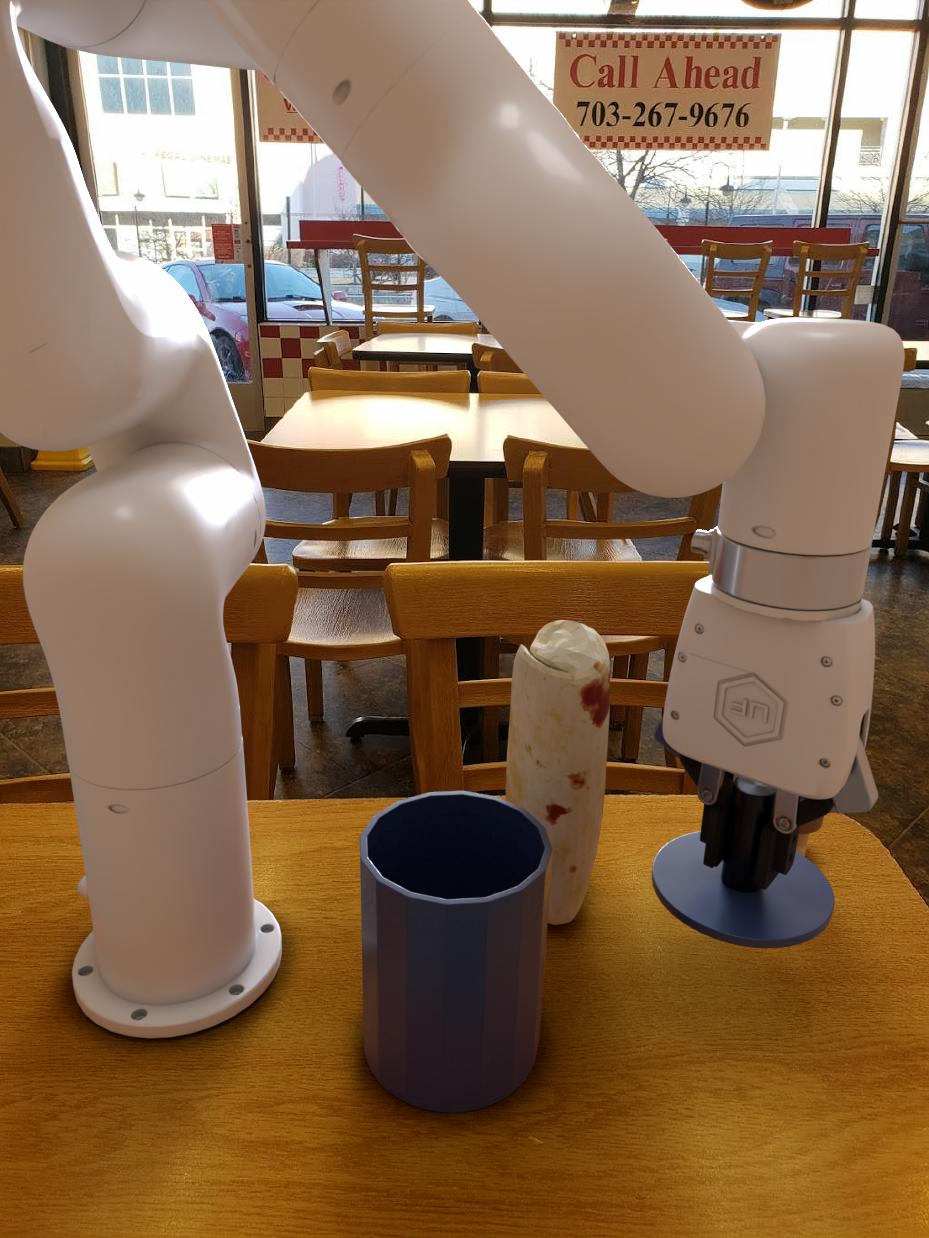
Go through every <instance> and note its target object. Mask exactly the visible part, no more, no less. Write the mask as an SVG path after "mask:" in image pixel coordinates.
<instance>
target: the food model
mask: <svg viewBox="0 0 929 1238" xmlns="http://www.w3.org/2000/svg"><path fill="white" fill-rule="evenodd" d="M510 688H511V690H510V710H509V722H508V723H509V725H508V735H507V736H508V738H507V751H506V764H505V765H506V767H505V801H508V802H510V803H512V804H514V805H517V806H519V807H521V808H524V809H526V810H527V811H528V812H529V813H530V814H531V815H532V816H533V817H534V818H535V819H537V820H538V821H539V822H540V823H541V824H542V825H543V826H544V827H545V829H546V832H547V834H548V837H549V840H550V843H551V846H552V850H553V851H552V865H551V879H550V894H549V908H548V923H547V924H550V925H553V926H558V925H565V924H568V923H571V922H572V921H573V920H574V919H575V918H576V916H577V915H578V913H579V911H580V909H581V907H582V905H583V904H584V903H583V902H584V900H585V898H586V895H587V893H588V890H589V887H590V886H589V885H590V881H591V876H592V873H593V869H594V864H595V862H596V861H595V860H596V857H597V853H598V848H599V842H600V836H601V830H602V822H603V813H604V805H605V793H606V780H607V763H608V762H607V760H608V747H609V746H608V745H609V731H610V730H609V728H610V727H609V726H610V703H611V702H610V701H611V700H610V699H611V697H610V696H611V661H610V654H609V650H608V648H607V644H606V642H605V640H604V639H603V638H602V636H601V635H600V634H599V633H598V632H597V630H595V629H594V628H593V627H589V626H587V625H586V624H584V623H581V622H577V621H574V620H567V619H566V620H565V619H559V620H554V621H551V622H549V623H547V624H545V625H543V627H542V628H540V629H539V630H538V632H537V633H536V636H535V638H534V639H533V641H532V643H531V645H530V647H529V650H528V648H527V647H526V646H525V645H523V644H520V645H519V647H518V649H517V652H516V654H515V658H514V659H513V667H512V675H511V687H510Z"/></svg>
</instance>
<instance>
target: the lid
mask: <svg viewBox="0 0 929 1238" xmlns="http://www.w3.org/2000/svg"><path fill="white" fill-rule="evenodd" d="M775 797H776V788H774V787H771V786H768V785H765V784H762V783H759V782H756V781H753V780H750V779H747V778H744V777H742V776H739V775H738V776H736V779H735V780H734V783H733V790H732V798H731V805H730V812H729V819H728V827H727V834H726V841H725V848H724V856H723V860H722V862H721V863H720V864H719V865H718V866H717V867H713V868H710V867H708V866H706V865H704V864H703V860H704V852H705V845H706V843H703V842H701V841H700V832H701V830H700V831H694V832H690V833H686V834H683V835H681V836H678V837H676V838H674V839H672V840H670V841H668V842H667V843H666V844H665V845H663V846H662V847H661V848H660V850H659V851H658V852H657V853H656V855H655V857H654V859H653V863H652V865H651V866H652V869H651V884H652V888H653V891H654V893H655V895H656V896H657V899H658V901H659V902H660V903H661V904H662V906H663V907H664V908H665V909H666V910H667V911H668V912H669V913H670V914H671V915H672V916H673V917H674V918H676V919H677V920H678V921H680V922H681V923H682V924H684V925H686V926H687V927H688V928H690V929H692V930H694V931H696V932H698V933H700V934H702V935H704V936H706V937H709V938H712V939H714V940H717V941H719V942H723V943H726V944H730V945H731V944H732V945H735V946H738V947H745V948H752V949H783V948H791V947H793V946H798V945H802V944H804V943H806V942H810V941H811V940H813V939H815V938H817V937H818V936H819V935H820V934H821V933H823V932H824V931H825V930H826V929H827V927H828V926H829V924H830V922H831V920H832V918H833V915H834V910H835V904H836V903H835V894H834V891H833V887H832V886H831V883H830V881H829V880H828V879H827V877H826V875H825V874H824V873H823V872H822V870H821V869H820V868H819V867H818V866H817V865H816V864H814V862H812V860H810V859H808V858H807V857H806V856H805V857H804V856H803V855H801V854H800V853H798V852H796V853H795V858H794V862H793V865H792V867H791V869H790V871H789V872H788V873H787V874H786V875H783V874H781V873H779V874H778V875H777V876H776V878H775V879H774V880H773V882H772V883H771V884H770V885H769V887H768V888H767V889H766V890H764V889H761V888H759V887H757V886H756V884H755V883H754V876H755V869H756V863H757V856H758V850H759V843H760V837H761V831H762V829H763V827H764V826H765V824H766V823H767V822H768V821H769V820H770V819H771V814H772V813H773V812H774V806H775Z"/></svg>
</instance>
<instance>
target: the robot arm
mask: <svg viewBox="0 0 929 1238" xmlns="http://www.w3.org/2000/svg"><path fill="white" fill-rule="evenodd" d="M18 27H19V28H21V29H23V30H25V31H28V32H29V33H32V34H33V35H36V36H38V37H40V38H42V39H44V40H46V41H48V42H51V43H54V44H56V45H59V46H61V47H62V48H63V47H64V48H67V49H71V50H75V51H79V52H84V53H87V54H91V55H92V54H93V55H98V56H104V57H112V58H121V59H131V60H141V61H143V60H144V61H152V62H153V61H154V62H163V63H173V64H185V65H195V66H196V65H197V66H205V67H214V68H222V69H223V68H224V69H231V70H232V69H233V70H246V71H247V70H248V71H261V72H262V74H263V75H264V76H265V77H266V78H267V79H268V81H269V82H270V83H271V84H272V85H273V86H274V88H275V89H277V90H278V91H279V92H280V93H281V94H282V95H283V97H284V98H285V99H286V100H287V102H288V103H289V104H290V105H291V106H292V107H293V109H294V110H295V111H296V112H297V113H298V114H299V115H300V117H301V118H302V119H303V120H304V121H305V123H306V124H307V125H308V126H309V127H310V128H311V129H312V130H313V132H314V133H315V134H316V135H317V137H319V139H320V140H321V141H322V142H323V143H324V144H325V146H326V147H327V148H328V149H329V150H330V151H331V153H332V154H333V155H334V156H335V157H336V159H337V160H338V161H339V162H340V163H341V165H342V166H343V167H344V169H345V171H347V172H348V174H350V175H351V177H352V178H353V179H354V181H355V182H356V183H357V184H358V185H359V186H360V188H362V190H363V191H364V192H365V193H366V194H367V196H368V197H369V198H370V200H371V201H372V202H373V203H374V204H375V205H376V206H377V208H378V209H379V210H380V211H381V212H382V213H383V215H384V216H385V217H386V218H387V219H388V220H389V222H390V223H391V224H392V226H394V227H395V229H396V230H397V231H398V233H400V235H401V236H402V237H403V239H404V241H406V243H407V245H409V247H410V248H411V249H412V250H413V252H414V253H415V254H416V255H417V256H418V257H419V258H420V259H421V260H422V261H423V262H424V263H426V264H427V265H428V266H429V268H431V269H432V270H433V271H434V272H435V273H436V274H438V275H439V276H440V278H441V279H443V281H444V282H446V284H447V285H448V286H449V287H450V288H451V289H453V291H454V292H455V293H456V294H457V296H459V298H460V299H461V300H462V301H463V302H464V304H465V305H466V306H467V308H469V309H470V311H471V312H472V313H473V315H475V317H476V318H477V319H478V321H479V322H480V323H481V324H482V325H483V326H484V328H485V329H486V330H487V331H488V332H489V334H490V335H491V336H492V337H493V339H494V340H495V341H496V342H497V343H498V344H499V345H500V346H501V348H502V349H503V351H505V353H506V354H507V355H508V356H509V357H510V359H511V360H512V361H513V362H514V364H515V365H516V366H517V367H518V368H519V369H520V371H522V373H523V374H524V375H525V377H527V379H529V381H530V382H531V383H532V384H533V385H534V387H535V388H536V389H537V390H538V391H539V393H540V394H541V395H542V396H543V397H544V398H545V399H546V401H547V402H548V403H549V405H551V407H552V408H553V409H554V410H555V411H556V413H557V414H558V415H559V417H561V418H562V420H563V421H564V422H565V423H566V424H567V425H568V427H569V428H570V429H571V430H572V431H573V432H574V434H575V435H576V436H577V438H579V439H580V440H581V442H582V443H583V444H584V445H585V446H586V448H587V449H588V450H589V451H590V452H591V454H593V456H594V457H595V458H596V459H597V460H598V462H599V463H600V464H601V465H602V466H603V467H604V468H605V469H606V470H607V471H608V472H609V473H610V475H612V476H613V477H614V478H616V479H617V480H618V481H619V482H621V483H623V484H624V485H626V486H627V487H629V488H631V489H633V490H636V491H638V492H640V493H643V494H646V495H647V496H652V497H653V496H654V497H659V498H664V499H673V498H676V499H677V498H679V499H680V498H681V499H683V498H688V497H691V496H697V495H700V494H701V495H702V494H703V493H705V492H708V491H711V490H713V489H715V488H717V487H718V486H720V485H721V484H722V485H721V495H720V503H719V511H718V520H717V526H716V527H714V528H713V529H710V530H709V531H707V530H704V529H703V530H702V529H697V530H695V532H694V533H693V535H692V538H691V541H690V550H691V553H693V554H696V555H702V556H703V558H704V559H707V560H708V562H709V565H708V573H707V574H708V576H706V577H703V578H701V579H699V580H697V581H696V582H695V583H694V586H693V589H692V592H691V595H690V597H689V600H688V604H687V606H686V610H685V612H684V616H683V620H682V624H681V627H680V631H679V634H678V639H677V642H676V647H675V651H674V656H673V660H672V664H671V669H670V672H669V678H668V685H667V690H666V697H665V701H664V706H663V707H664V708H663V715H662V718H661V719H660V720H659V722H658V724H657V725H656V727H655V728H654V730H653V732H652V735H653V738H654V740H655V741H656V742H657V743H658V744H659V745H661V746H662V747H663V748H664V749H665V750H667V751H668V752H669V753H670V754H671V755H673V756H674V758H678V759H679V760H680V763H681V765H682V767H683V768H684V769H685V771H686V773H687V774H688V776H689V777H690V778H691V780H692V781H693V783H694V784H695V786H696V787H697V789H696V791H697V792H696V796H697V798H698V800H699V801H700V802H701V803H702V804H703V810H702V817H701V819H702V820H701V825H700V831H701V832H700V831H699V832H700V841H701V842H703V843H706V845H705V852H704V860H703V864H704V865H706V866H708V867H710V868H713V867H717V866H718V865H719V864H720V863H721V862H722V860H723V856H724V848H725V841H726V834H727V827H728V819H729V812H730V805H731V798H732V790H733V783H734V780H735V779H736V778H737V777H739V776H742V777H744V778H747V779H750V780H753V781H756V782H759V783H762V784H765V785H768V786H771V787H774V788H776V797H775V806H774V812H773V813H772V814H771V819H770V820H769V821H768V822H767V823H766V824H765V826H764V827H763V829H762V831H761V837H760V843H759V850H758V856H757V863H756V869H755V876H754V883H755V884H756V886H757V887H759V888H761V889H764V890H766V889H767V888H768V887H769V885H770V884H771V883H772V882H773V880H774V879H775V878H776V876H777V875H778V874H779V873H781V874H783V875H786V874H787V873H788V872H789V871H790V869H791V867H792V865H793V862H794V858H795V853H796V847H797V841H798V836H799V830H800V826H802V825H804V824H806V823H809V822H811V821H813V820H816V819H818V818H820V817H823V816H824V817H825V816H826V815H828V814H832V813H833V814H837V815H839V814H862V813H863V814H864V813H868V812H870V811H871V810H872V808H874V806H875V804H876V803H877V801H878V800H879V792H878V788H877V785H876V783H875V782H876V781H875V779H874V775H873V771H872V768H871V765H870V762H869V759H868V755H867V752H866V747H867V742H868V735H869V729H870V721H871V714H872V706H873V695H874V693H873V692H874V681H875V680H874V679H875V663H876V628H875V627H876V626H875V612H874V606H873V604H872V602H870V601H869V600H866V599H865V598H863V595H864V590H865V585H866V582H867V581H866V580H867V574H868V569H869V563H870V557H871V553H872V548H873V547H872V546H873V544H872V543H873V539H874V534H875V529H876V521H877V519H878V518H877V517H878V513H879V512H878V511H879V506H880V503H881V496H882V490H883V486H884V480H885V473H886V468H887V462H888V457H889V452H890V446H891V441H892V435H893V430H894V425H895V418H896V413H897V407H898V402H899V398H900V391H901V387H902V386H901V385H902V380H903V375H904V368H905V360H906V353H905V347H904V342H903V340H902V338H901V336H900V334H899V333H898V332H896V330H895V329H893V328H892V327H890V326H887V325H885V324H882V323H878V322H874V321H868V320H861V319H848V318H846V319H845V318H829V317H828V318H825V317H782V318H774V319H767V320H765V321H764V320H763V321H762V322H752V321H751V322H750V321H742V320H732V319H731V320H730V319H728V318H727V317H726V315H725V314H724V313H723V312H722V310H721V309H720V307H719V306H718V305H717V304H716V302H715V301H714V300H713V298H712V297H711V296H710V295H709V293H708V292H707V290H705V288H704V287H703V286H702V284H701V283H700V281H699V280H698V279H697V278H696V277H695V276H694V274H693V273H692V272H691V270H690V269H689V268H688V267H687V265H686V264H685V263H684V261H683V260H682V259H681V257H680V256H679V254H678V253H677V252H676V251H675V250H674V249H673V247H672V246H671V244H670V243H669V242H668V240H666V239H665V237H664V236H663V234H661V232H660V231H659V230H658V228H657V227H656V226H655V225H654V224H653V223H652V221H651V220H650V219H649V218H648V217H647V215H646V214H645V212H644V211H643V210H642V209H641V208H640V206H638V204H637V203H636V202H635V201H634V199H633V198H632V197H631V196H630V195H629V194H628V192H627V191H626V190H625V189H624V188H623V187H622V185H620V183H619V182H618V181H617V180H616V179H615V177H614V176H613V175H612V174H611V173H610V172H609V171H608V169H607V168H606V167H605V166H604V165H603V164H602V162H600V160H599V159H598V157H596V156H595V154H593V152H592V151H591V150H590V149H589V147H588V146H587V145H586V144H585V143H584V141H582V139H581V138H580V137H579V134H577V133H576V132H575V129H573V127H572V126H571V124H570V123H569V122H568V120H567V119H566V118H565V116H564V115H563V113H562V112H561V111H560V110H559V109H558V108H557V106H556V105H555V104H554V103H553V102H552V100H551V99H550V98H549V97H548V96H547V95H546V94H545V93H544V92H543V91H542V90H541V89H540V87H539V86H538V85H537V84H536V83H535V81H534V80H533V78H532V77H531V76H530V74H528V72H527V71H526V70H525V68H524V67H523V66H522V65H521V63H520V62H519V61H518V60H517V59H516V57H515V56H514V55H513V54H512V53H511V51H510V50H509V49H508V48H507V46H506V45H505V44H504V43H503V41H502V40H501V39H500V38H499V36H498V34H497V33H496V32H495V30H493V28H492V27H491V26H490V24H489V23H488V22H487V20H486V19H485V18H484V16H483V15H482V14H480V12H479V11H478V10H477V8H476V7H475V5H474V4H473V3H472V2H471V0H0V434H2V435H3V436H4V437H5V438H6V439H8V440H9V441H11V442H14V443H15V444H18V445H20V446H22V447H24V448H28V449H31V450H36V451H43V452H58V453H59V452H67V451H68V452H69V451H73V450H78V449H83V448H87V450H88V453H89V455H90V458H91V460H92V462H93V465H94V467H95V470H96V471H95V472H93V473H92V474H90V475H88V476H87V477H85V478H83V479H81V480H79V481H78V482H76V483H75V484H73V485H72V486H70V487H69V488H68V489H66V490H65V491H64V492H63V493H61V494H60V495H59V496H58V497H57V498H56V499H55V500H54V501H53V502H52V503H51V504H50V505H49V506H48V507H47V509H45V510H44V512H43V513H42V514H41V516H40V518H39V520H38V521H37V522H36V524H35V526H34V528H33V529H32V532H31V534H30V536H29V539H28V542H27V545H26V548H25V552H24V557H23V564H22V565H23V566H22V585H23V591H24V598H25V602H26V605H27V609H28V612H29V616H30V619H31V622H32V625H33V627H34V630H35V632H36V633H35V634H36V635H37V638H38V641H39V643H40V646H41V649H42V652H43V653H44V657H45V659H46V663H47V666H48V669H49V672H50V676H51V680H52V683H53V687H54V691H55V697H56V701H57V706H58V711H59V716H60V722H61V727H62V734H63V740H64V746H65V754H66V761H67V764H68V769H69V776H70V782H71V791H72V796H73V803H74V808H75V817H76V823H77V831H78V836H79V843H80V850H81V856H82V857H81V858H82V863H83V864H82V865H83V870H84V876H83V877H82V878H81V879H80V880H79V882H78V883H77V886H76V891H77V893H78V894H79V895H80V896H82V897H83V898H84V899H85V900H87V901H88V903H89V911H90V918H91V924H92V925H91V926H92V931H91V932H89V934H88V935H87V937H86V938H85V939H84V941H83V942H82V943H81V944H80V947H79V948H78V951H77V953H76V955H75V957H74V958H73V959H74V960H73V963H72V970H71V978H72V987H73V992H74V997H75V999H76V1003H77V1005H78V1006H79V1007H80V1009H81V1011H82V1012H83V1014H84V1015H85V1016H86V1017H87V1018H89V1019H90V1020H91V1021H92V1022H93V1023H94V1024H96V1025H98V1026H100V1027H102V1028H103V1029H106V1030H107V1031H109V1032H112V1033H116V1034H119V1035H123V1036H127V1037H131V1038H143V1039H163V1038H174V1037H180V1036H184V1035H190V1034H194V1033H197V1032H200V1031H203V1030H206V1029H209V1028H212V1027H214V1026H217V1025H219V1024H221V1023H223V1022H225V1021H227V1020H229V1019H231V1018H233V1017H235V1016H236V1015H238V1014H239V1013H241V1012H242V1011H243V1010H245V1009H247V1008H248V1007H250V1006H251V1005H252V1004H253V1003H254V1002H255V1001H256V1000H258V998H259V997H260V996H261V995H263V994H264V993H265V991H266V990H267V989H268V987H269V986H270V985H271V983H272V982H273V981H274V979H275V977H276V975H277V972H278V970H279V968H280V966H281V960H282V956H283V955H282V954H283V946H282V945H283V943H282V942H283V938H282V931H281V927H280V924H279V922H278V921H277V919H276V917H275V915H274V914H273V913H272V912H271V910H269V908H268V907H266V905H264V904H263V903H262V902H260V901H258V900H257V899H255V895H254V891H255V890H254V880H253V879H254V877H253V864H252V850H251V836H250V821H249V808H248V795H247V793H248V792H247V780H246V779H247V778H246V766H245V765H246V764H245V753H244V752H245V749H244V738H243V732H242V731H243V730H242V718H241V717H242V716H241V706H240V705H241V704H240V697H239V690H238V683H237V677H236V676H237V675H236V672H235V669H234V664H233V659H232V656H231V653H230V648H229V646H228V641H227V637H226V632H225V627H224V606H225V600H226V597H227V596H228V595H229V594H230V593H231V591H232V590H233V588H234V586H235V585H236V584H237V582H238V581H239V579H240V578H241V577H242V576H243V575H244V573H245V572H246V570H247V569H248V568H249V566H250V565H251V563H252V562H253V560H255V558H256V556H257V554H258V552H259V550H260V547H261V545H262V542H263V539H264V535H265V531H266V522H267V513H266V503H265V498H264V492H263V488H262V484H261V480H260V478H259V474H258V471H257V467H256V465H255V462H254V459H253V456H252V453H251V451H250V447H249V445H248V441H247V439H246V436H245V432H244V430H243V426H242V424H241V421H240V418H239V416H238V413H237V409H236V407H235V404H234V401H233V399H232V395H231V392H230V389H229V387H228V383H227V381H226V377H225V375H224V372H223V370H222V366H221V363H220V361H219V357H218V354H217V352H216V349H215V346H214V344H213V341H212V338H211V336H210V334H209V331H208V328H207V326H206V324H205V322H204V319H203V318H202V316H201V314H200V312H199V310H198V309H197V307H196V306H195V304H194V302H193V301H192V299H191V298H190V297H189V295H188V294H187V292H186V291H185V289H184V288H183V287H182V286H181V285H180V284H179V283H178V282H177V281H176V280H175V278H173V276H171V275H170V274H169V273H168V272H166V271H165V269H163V268H161V267H159V265H156V264H155V263H153V262H152V261H150V260H149V259H146V258H144V257H141V256H138V255H136V254H134V253H131V252H127V251H124V250H120V249H119V250H118V249H113V248H112V246H111V243H110V241H109V239H108V237H107V235H106V233H105V230H104V228H103V226H102V223H101V221H100V218H99V215H98V213H97V211H96V208H95V206H94V203H93V201H92V199H91V196H90V194H89V191H88V188H87V186H86V182H85V180H84V176H83V173H82V170H81V167H80V164H79V160H78V158H77V154H76V152H75V149H74V146H73V143H72V141H71V139H70V136H69V135H68V133H67V130H66V128H65V126H64V123H63V122H62V120H61V118H60V117H59V114H58V112H57V111H56V109H55V107H54V105H53V103H52V102H51V101H50V99H49V96H48V95H47V93H46V91H45V90H44V87H43V86H42V84H41V82H40V81H39V79H38V77H37V74H36V73H35V72H34V70H33V68H32V65H31V63H30V61H29V59H28V57H27V55H26V52H25V50H24V47H23V44H22V40H21V38H20V35H19V29H18Z"/></svg>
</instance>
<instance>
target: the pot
mask: <svg viewBox="0 0 929 1238" xmlns="http://www.w3.org/2000/svg"><path fill="white" fill-rule="evenodd" d="M552 851H553V850H552V846H551V843H550V840H549V837H548V834H547V832H546V829H545V827H544V826H543V825H542V824H541V823H540V822H539V821H538V820H537V819H535V818H534V817H533V816H532V815H531V814H530V813H529V812H528V811H527V810H526V809H524V808H521V807H519V806H517V805H514V804H512V803H510V802H508V801H506V799H503V798H501V797H498V796H495V795H489V794H483V793H477V792H472V791H465V790H453V791H452V790H451V791H433V792H431V791H430V792H425V793H422V794H418V795H415V796H411V797H408V798H404V799H399V800H398V801H396V802H394V803H392V804H390V805H389V806H387V807H385V808H384V809H382V810H381V811H379V812H377V813H375V814H374V815H373V816H372V818H371V819H370V820H369V821H368V823H367V824H366V827H365V828H364V830H363V831H362V832H361V834H360V835H359V870H360V871H359V872H360V873H359V878H360V923H361V926H360V927H361V928H360V929H361V930H360V931H361V975H362V978H361V980H362V981H361V983H362V1022H363V1023H362V1026H363V1029H362V1030H363V1053H364V1057H365V1060H366V1063H367V1065H368V1067H369V1070H370V1072H371V1073H372V1075H373V1076H374V1077H375V1079H376V1081H377V1082H378V1083H379V1084H380V1085H381V1086H382V1087H383V1088H384V1089H385V1090H386V1091H387V1092H389V1093H390V1094H391V1095H393V1097H395V1098H397V1099H398V1100H400V1101H402V1102H404V1103H406V1104H408V1105H410V1106H413V1107H415V1108H419V1109H423V1110H425V1111H426V1110H427V1111H431V1112H436V1113H448V1114H450V1113H451V1114H452V1113H454V1114H455V1113H466V1112H473V1111H477V1110H480V1109H485V1108H487V1107H489V1106H492V1105H494V1104H497V1103H498V1102H500V1101H502V1100H504V1099H506V1098H508V1097H509V1096H510V1095H512V1093H514V1092H515V1091H516V1090H517V1089H518V1088H519V1087H521V1086H522V1084H523V1083H524V1082H525V1081H526V1079H527V1078H528V1076H529V1075H530V1073H531V1072H532V1070H533V1067H534V1065H535V1062H536V1060H537V1055H538V1054H537V1053H538V1046H539V1042H540V1038H541V1037H540V1036H541V1023H542V1022H541V1021H542V1008H543V1007H542V1006H543V994H544V980H545V979H544V978H545V964H546V952H547V951H546V950H547V936H548V924H549V923H548V908H549V894H550V879H551V865H552Z"/></svg>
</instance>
